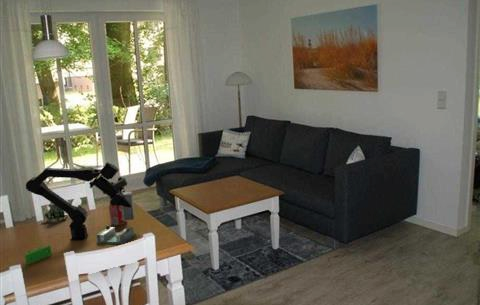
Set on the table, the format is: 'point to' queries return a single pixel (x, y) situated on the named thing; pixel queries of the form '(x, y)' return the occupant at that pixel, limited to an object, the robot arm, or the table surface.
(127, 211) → the steel bar
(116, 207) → the beverage can
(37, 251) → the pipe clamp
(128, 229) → the striped teal board
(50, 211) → the frog figurine
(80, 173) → the robot arm
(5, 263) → the table surface
